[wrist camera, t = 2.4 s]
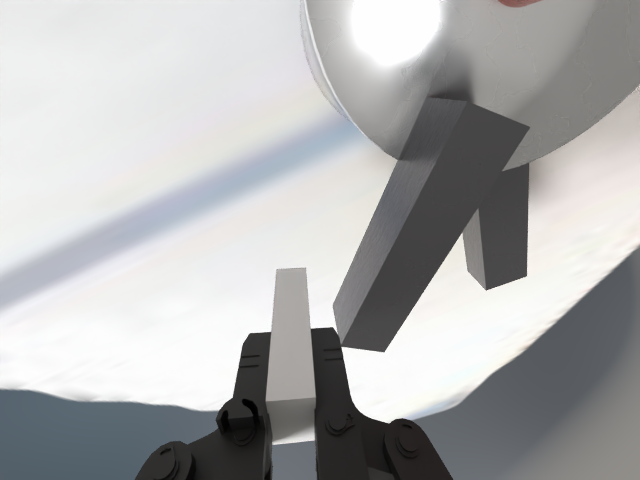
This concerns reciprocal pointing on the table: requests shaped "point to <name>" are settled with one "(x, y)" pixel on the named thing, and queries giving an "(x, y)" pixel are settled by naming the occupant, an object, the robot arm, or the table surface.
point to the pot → (489, 219)
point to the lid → (458, 118)
